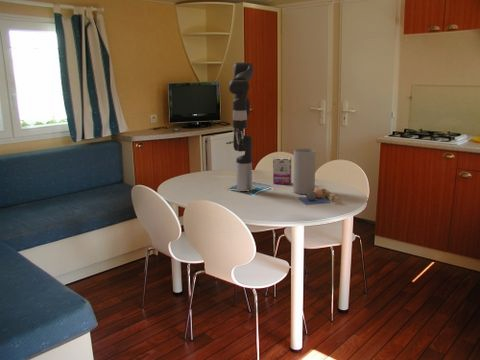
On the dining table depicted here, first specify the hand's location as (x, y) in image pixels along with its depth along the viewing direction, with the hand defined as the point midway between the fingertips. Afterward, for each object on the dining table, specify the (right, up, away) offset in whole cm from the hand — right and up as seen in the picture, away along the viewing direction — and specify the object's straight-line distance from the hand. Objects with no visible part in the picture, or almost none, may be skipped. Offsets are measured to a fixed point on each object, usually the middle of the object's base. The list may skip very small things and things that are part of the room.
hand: (240, 151), depth 245 cm
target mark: (+41, -27, +10) cm, 50 cm away
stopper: (+50, -26, +12) cm, 58 cm away
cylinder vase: (+38, -23, +27) cm, 52 cm away
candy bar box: (+27, -18, +48) cm, 57 cm away
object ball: (+44, -23, +13) cm, 51 cm away
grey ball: (+39, -24, +8) cm, 47 cm away
